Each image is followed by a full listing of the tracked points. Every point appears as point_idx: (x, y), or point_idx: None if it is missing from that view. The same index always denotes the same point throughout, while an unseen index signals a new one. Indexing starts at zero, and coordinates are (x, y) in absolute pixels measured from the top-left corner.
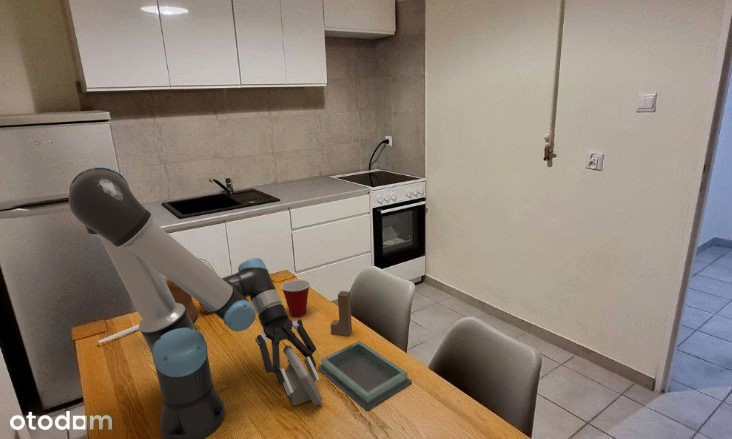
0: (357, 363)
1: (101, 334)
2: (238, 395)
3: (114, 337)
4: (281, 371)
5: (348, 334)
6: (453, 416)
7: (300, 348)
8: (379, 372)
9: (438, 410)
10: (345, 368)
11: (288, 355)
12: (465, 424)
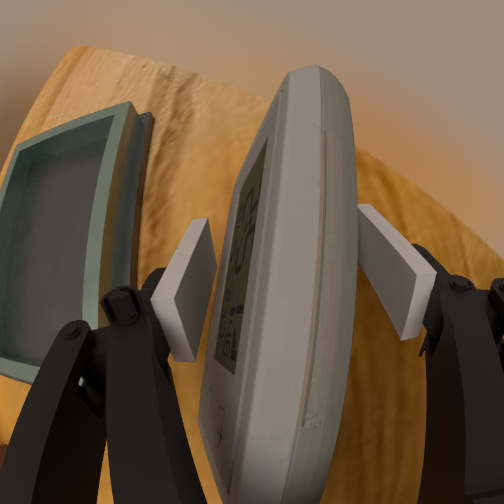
0: (32, 301)
1: None
2: None
3: None
4: (427, 268)
5: (2, 446)
6: (77, 71)
7: (166, 406)
8: (30, 218)
9: (74, 84)
10: (66, 309)
11: (333, 392)
12: (84, 58)
